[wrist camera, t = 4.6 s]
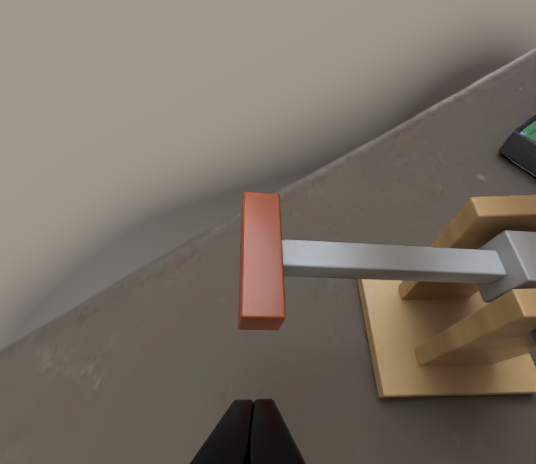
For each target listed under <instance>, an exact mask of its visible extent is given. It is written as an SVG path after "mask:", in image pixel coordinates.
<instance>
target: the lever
mask: <svg viewBox="0 0 536 464" xmlns="http://www.w3.org/2000/svg"><path fill="white" fill-rule="evenodd" d="M284 276H291V277H318V278H345V279H372V280H399V281H425V282H452V283H476V284H477V287H478V289H479V292H480V294H481V297H482V299H483V301H484V302H486V303H491V302H493V301H494V300H496V299H498V298H499V297H501V296H502V295H504V294H506V293H507V292H509V291H511V290H513V289H535V288H536V232H527V231H510V230H505V231H503V232H502V233H500V234H499V235H497V236H496V237H494V238H493V239H492V240H490V241H489V242H487V243H486V244H484V245H483V246H481V247H480V248H479V249H477V250H475V249H456V248H437V247H417V246H398V245H379V244H360V243H341V242H322V241H303V240H284V239H282V232H281V212H280V196H279V194H271V193H257V192H244V195H243V203H242V212H241V246H240V282H239V318H238V328H239V329H240V330H279V328H280V326H281V325H282V323H283V322H284V320H285V318H286V309H285V290H284Z"/></svg>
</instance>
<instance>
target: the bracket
mask: <svg viewBox="0 0 536 464" xmlns="http://www.w3.org/2000/svg"><path fill="white" fill-rule="evenodd" d="M505 230H510V231H527V232H536V195H516V196H490V197H472V198H470V199H469V200H468V202H467V203H466V204H465V205H464V206H463V208H462V209H461V210H460V211H459V213H458V214H457V215H456V216H455V217H454V219H453V220H452V221H451V222H450V224H449V225H448V226H447V227H446V228H445V230H444V231H443V232H442V233H441V235H440V236H439V237H438V238H437V239H436V241H435V242H434V243H433V244H432V246H431V247H437V248H456V249H475V250H477V249H479V248H480V247H481V246H483V245H484V244H486V243H487V242H489V241H490V240H492V239H493V238H494V237H496V236H497V235H499V234H500V233H502V232H503V231H505ZM357 282H358V287H359V293H360V298H361V304H362V309H363V315H364V320H365V325H366V331H367V336H368V342H369V347H370V353H371V358H372V364H373V369H374V375H375V380H376V386H377V391H378V396H379V397H380V398H392V397H429V396H466V395H503V394H534V393H536V367H535V365H534V362H533V360H532V358H531V355H530V353H531V352H534V351H536V288H535V289H513V290H511V291H509V292H507V293H506V294H504V295H502V296H501V297H499V298H498V299H496V300H494V301H493V302H491V303H486V302H484V301H483V299H482V297H481V294H480V292H479V289H478V287H477V284H476V283H452V282H425V281H399V280H372V279H357Z"/></svg>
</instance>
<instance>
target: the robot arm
mask: <svg viewBox="0 0 536 464" xmlns="http://www.w3.org/2000/svg"><path fill="white" fill-rule="evenodd" d="M190 464H306V463H305V461H304V459H303V457H302V455H301V453H300V451H299V449H298V447H297V445H296V443H295V441H294V439H293V437H292V435H291V433H290V431H289V429H288V427H287V426H286V424H285V422H284V420H283V418H282V416H281V414H280V412H279V410H278V408H277V406H276V404H275V402H274V401H273V400H272V399H257V400H255V401H254V402H253V401H252V400H235V401H234V402H233V403H232V404H231V406H230V407H229V409H228V410H227V411H226V413H225V414H224V416H223V417H222V419H221V420H220V421H219V423H218V424H217V426H216V427H215V429H214V430H213V431H212V433H211V434H210V436H209V437H208V439H207V440H206V441H205V443H204V444H203V446H202V447H201V449H200V450H199V451H198V453H197V454H196V456H195V457H194V459H193V460H192V461H191V463H190Z"/></svg>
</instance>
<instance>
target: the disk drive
mask: <svg viewBox="0 0 536 464" xmlns="http://www.w3.org/2000/svg"><path fill="white" fill-rule="evenodd" d="M499 152H500V153H502V154H504V155H505V156H506V157H507V158H509V159H510V160H511V161H512V162H514V163H515V164H517V165H518V166H520V167H521V168H523V169H525V170H526V171H528V172H529V173H531V174H532V175H534V176H536V115H535V116H533V117H531V118H530V119H528V120H527V121H526V122H525V123H524V124H522V125H521V126H519V127H518V128H517V129H515V130H514V131H513V132H512V133H511V135H510V136H509V137H508V138H507V139H506V141H505V142H504V143H503V145H502V146H501V147H500V149H499Z"/></svg>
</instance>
